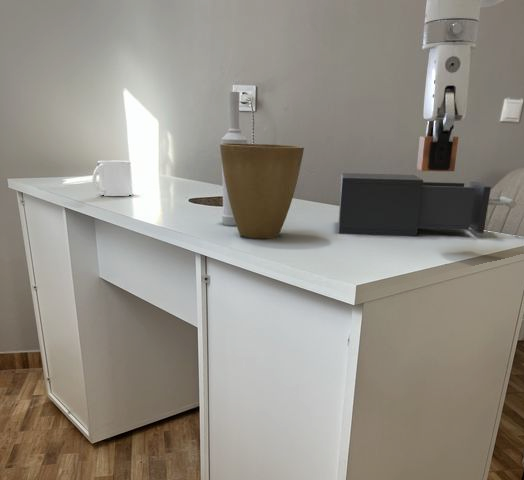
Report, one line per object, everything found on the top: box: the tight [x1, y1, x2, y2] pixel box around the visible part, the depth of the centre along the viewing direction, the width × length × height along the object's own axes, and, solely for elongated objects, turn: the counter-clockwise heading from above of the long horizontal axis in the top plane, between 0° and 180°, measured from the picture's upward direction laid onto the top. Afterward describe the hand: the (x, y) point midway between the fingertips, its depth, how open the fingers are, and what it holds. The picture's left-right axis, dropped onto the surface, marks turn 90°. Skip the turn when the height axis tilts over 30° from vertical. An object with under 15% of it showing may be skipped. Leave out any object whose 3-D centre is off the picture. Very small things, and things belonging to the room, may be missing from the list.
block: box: [416, 135, 459, 172], centre depth 87 cm, size 5×5×5 cm
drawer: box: [418, 181, 517, 234], centre depth 109 cm, size 19×12×8 cm, turn 83°
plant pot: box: [219, 142, 305, 239], centre depth 101 cm, size 15×15×16 cm
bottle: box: [220, 91, 248, 227], centre depth 111 cm, size 5×5×25 cm
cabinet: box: [337, 172, 424, 237], centre depth 111 cm, size 15×13×10 cm
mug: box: [91, 159, 134, 197], centre depth 158 cm, size 12×9×9 cm
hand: (435, 167), depth 88 cm, fingers closed on block, 5 cm apart
